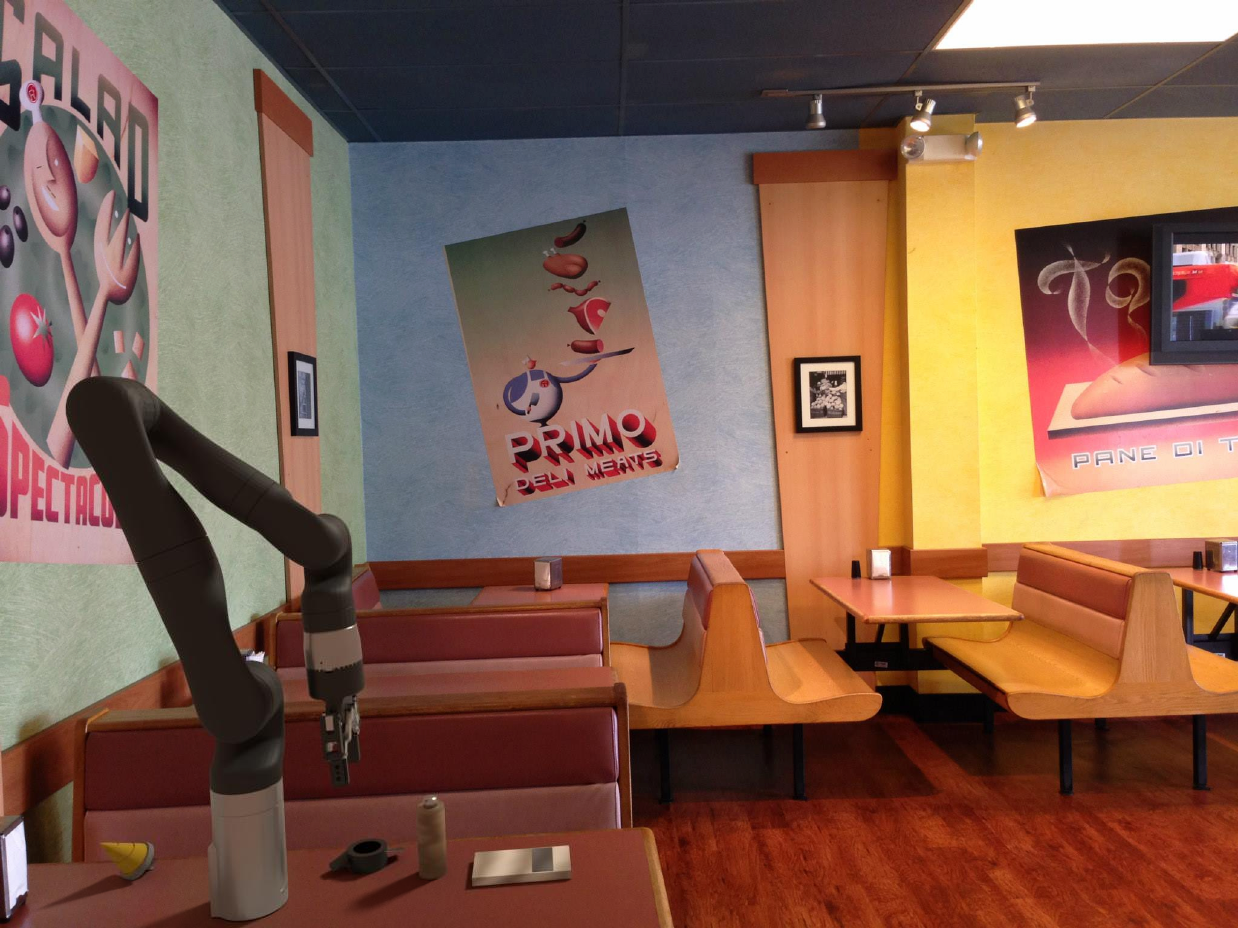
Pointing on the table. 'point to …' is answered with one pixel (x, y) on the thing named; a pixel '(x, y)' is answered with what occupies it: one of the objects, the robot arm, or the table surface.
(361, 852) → the black winged cup
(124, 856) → the yellow party hat
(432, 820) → the wooden pepper mill
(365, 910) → the table surface
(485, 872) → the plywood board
